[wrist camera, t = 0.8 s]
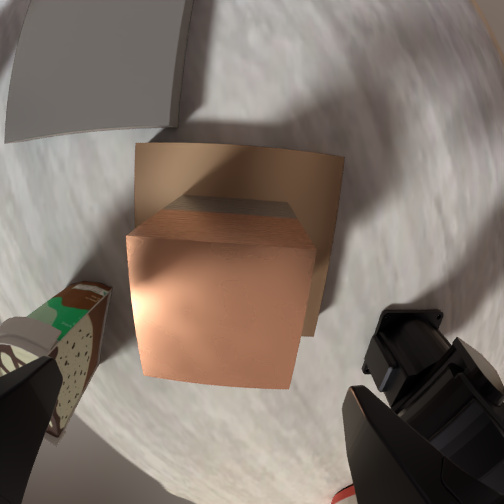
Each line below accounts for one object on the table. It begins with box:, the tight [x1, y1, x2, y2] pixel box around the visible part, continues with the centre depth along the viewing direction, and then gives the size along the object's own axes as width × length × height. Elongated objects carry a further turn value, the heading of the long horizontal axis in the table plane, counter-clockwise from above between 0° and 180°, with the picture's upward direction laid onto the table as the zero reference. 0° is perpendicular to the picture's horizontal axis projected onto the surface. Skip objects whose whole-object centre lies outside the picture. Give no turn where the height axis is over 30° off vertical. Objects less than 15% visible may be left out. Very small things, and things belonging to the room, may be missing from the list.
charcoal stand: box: [4, 0, 194, 144], centre depth 13 cm, size 14×14×2 cm
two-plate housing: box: [126, 195, 317, 389], centre depth 14 cm, size 6×6×8 cm
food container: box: [0, 281, 112, 447], centre depth 17 cm, size 12×6×10 cm, turn 156°
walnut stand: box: [134, 143, 345, 337], centre depth 18 cm, size 12×12×2 cm
